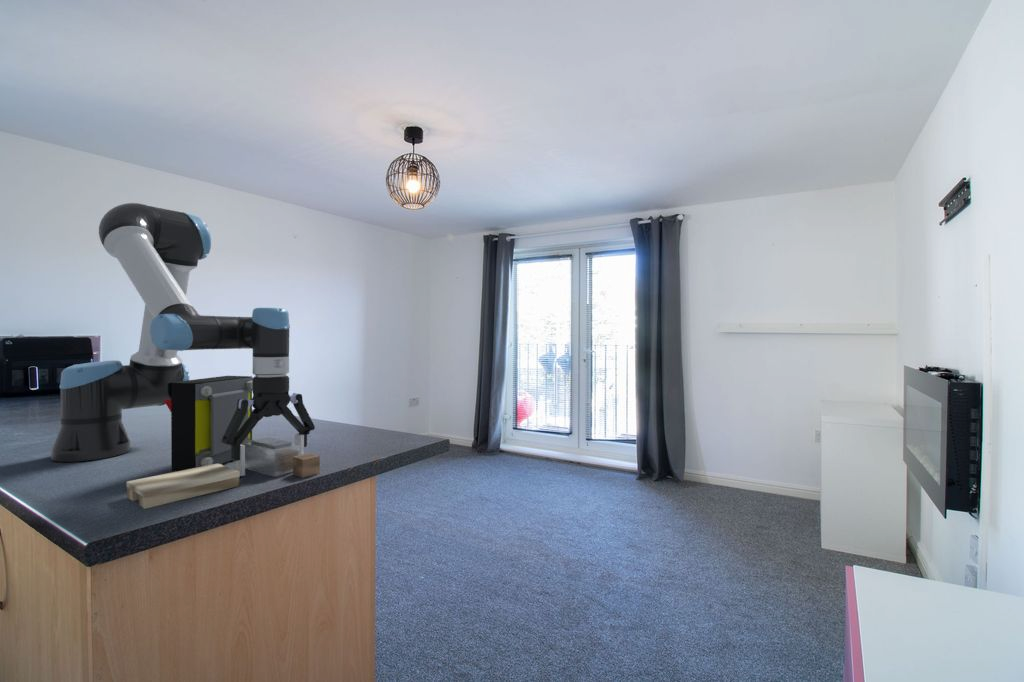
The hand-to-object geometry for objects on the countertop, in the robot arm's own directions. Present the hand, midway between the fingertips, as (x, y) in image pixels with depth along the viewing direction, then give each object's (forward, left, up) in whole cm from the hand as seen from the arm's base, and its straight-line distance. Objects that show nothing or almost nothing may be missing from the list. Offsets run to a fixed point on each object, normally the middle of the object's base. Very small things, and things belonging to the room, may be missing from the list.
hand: (271, 467), depth 110 cm
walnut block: (+9, +3, 0) cm, 10 cm away
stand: (+2, -18, 0) cm, 18 cm away
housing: (0, 0, 0) cm, 0 cm away
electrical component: (-17, -5, -1) cm, 18 cm away
